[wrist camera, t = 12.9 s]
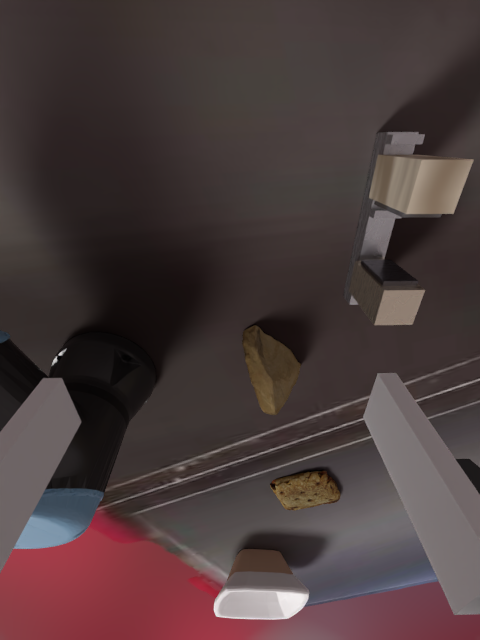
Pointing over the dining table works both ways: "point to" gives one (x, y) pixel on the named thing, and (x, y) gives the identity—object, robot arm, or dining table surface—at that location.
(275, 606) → the bowl
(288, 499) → the pastry
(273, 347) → the rock
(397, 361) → the dining table surface
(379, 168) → the block
